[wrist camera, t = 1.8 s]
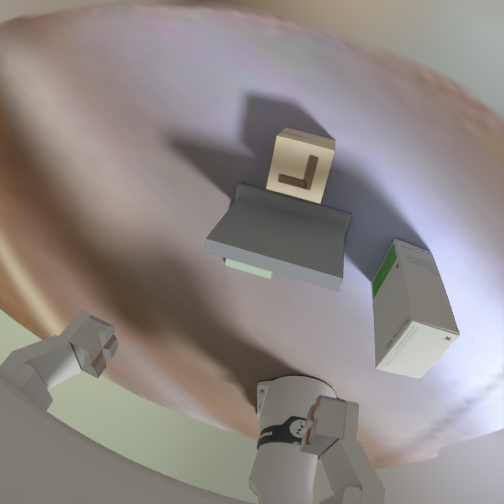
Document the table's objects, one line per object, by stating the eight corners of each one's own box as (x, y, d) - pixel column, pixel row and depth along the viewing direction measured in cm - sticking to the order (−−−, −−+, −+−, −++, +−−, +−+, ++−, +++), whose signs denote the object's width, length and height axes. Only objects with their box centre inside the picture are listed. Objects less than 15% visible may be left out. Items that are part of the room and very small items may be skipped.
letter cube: (323, 185, 38) (320, 204, 33) (276, 172, 39) (265, 189, 34) (335, 140, 35) (334, 151, 29) (286, 127, 35) (276, 135, 30)
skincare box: (394, 235, 38) (412, 316, 26) (435, 252, 38) (464, 333, 25) (369, 284, 43) (371, 369, 30) (407, 297, 43) (420, 382, 30)
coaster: (271, 276, 47) (270, 278, 46) (226, 263, 48) (225, 265, 47) (281, 236, 43) (280, 238, 42) (232, 222, 44) (231, 224, 43)
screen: (340, 246, 41) (336, 304, 32) (233, 216, 43) (198, 263, 33) (351, 214, 39) (353, 265, 29) (238, 182, 41) (202, 222, 31)
